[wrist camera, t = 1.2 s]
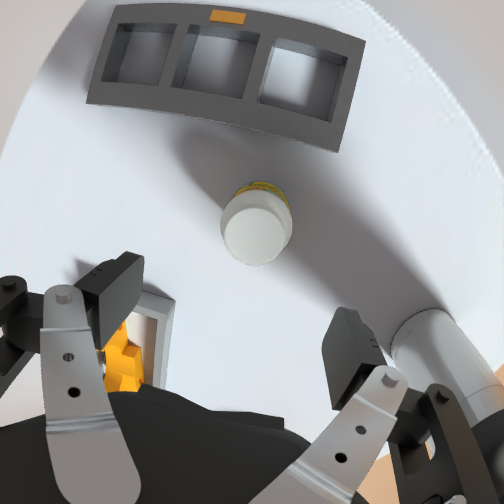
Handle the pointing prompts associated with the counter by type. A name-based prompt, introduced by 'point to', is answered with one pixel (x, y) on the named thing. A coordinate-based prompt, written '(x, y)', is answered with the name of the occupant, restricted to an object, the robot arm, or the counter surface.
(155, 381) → the clamp tray
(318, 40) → the three-compartment grey tray
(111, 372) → the pipe clamp
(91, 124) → the counter surface
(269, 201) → the supplement bottle
